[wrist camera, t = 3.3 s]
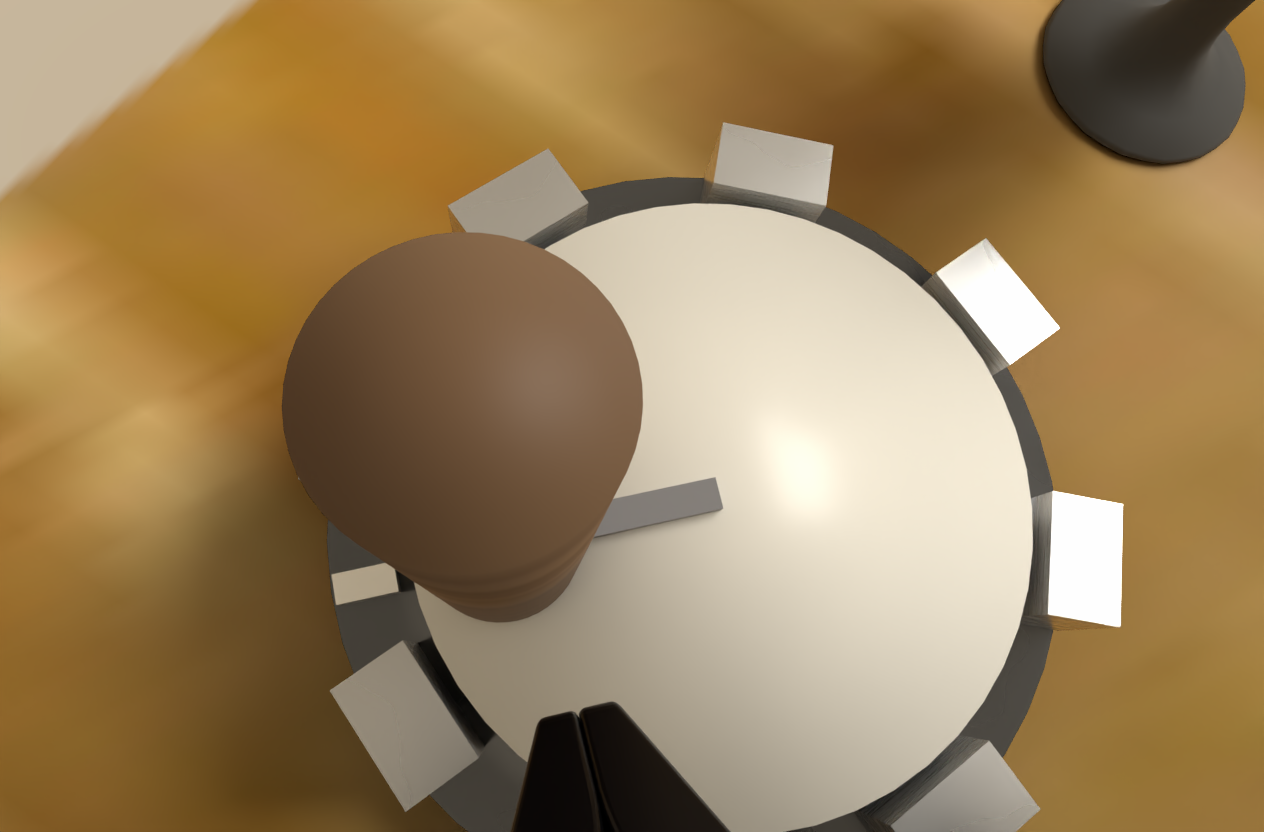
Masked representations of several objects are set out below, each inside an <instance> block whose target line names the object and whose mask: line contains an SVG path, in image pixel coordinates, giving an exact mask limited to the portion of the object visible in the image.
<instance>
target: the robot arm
mask: <svg viewBox="0 0 1264 832" xmlns="http://www.w3.org/2000/svg"><path fill="white" fill-rule="evenodd" d="M510 832H731V831H730V830H729V829H728V828H727V827H726V826H725V824H724V823H723V822H722V821H721V820H720V819H719V818H718V816H717V815H716V814H715V813H714V812H713V811H712V810H711V808H710V807H709V806H708V805H707V804H706V803H705V802H704V800H703V799H702V798H701V797H700V796H699V795H698V794H697V792H696V791H695V790H694V789H693V788H692V787H691V785H690V784H689V783H688V782H687V781H686V780H685V779H684V777H683V776H682V775H681V774H680V773H679V772H678V771H677V769H676V768H675V767H674V766H673V765H672V764H671V763H670V761H669V760H668V759H667V758H666V757H665V756H664V755H663V753H662V752H661V751H660V750H659V749H658V748H657V747H656V745H655V744H654V743H653V742H652V741H651V740H650V739H649V737H648V736H647V735H646V734H645V733H644V732H643V731H642V729H641V728H640V727H639V726H638V725H637V724H636V723H635V721H634V720H633V719H632V718H631V717H630V716H629V715H628V713H627V712H626V711H625V710H624V709H623V708H622V707H621V706H620V705H619V704H618V703H616V702H613V701H611V702H606V703H601V704H597V705H593V706H589V707H585V708H583V709H582V710H581V711H580V712H579V717H578V715H577V714H576V712H573V711H568V712H564V713H560V714H556V715H551V716H547V717H544V718H542V719H540V720H539V722H538V724H537V726H536V729H535V733H534V737H533V741H532V745H531V749H530V753H529V757H528V762H527V766H526V770H525V774H524V778H523V782H522V786H521V790H520V794H519V798H518V802H517V806H516V810H515V814H514V818H513V822H512V826H511V830H510Z"/></svg>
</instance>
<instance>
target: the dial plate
mask: <svg viewBox="0 0 1264 832" xmlns="http://www.w3.org/2000/svg"><path fill="white" fill-rule="evenodd" d="M832 153H833V145H829V144H824V143H820V142H815V141H810V140H805V139H801V138H796V137H791V136H786V135H781V134H777V133H772V132H767V131H762V130H757V129H753V128H748V127H743V126H738V125H733V124H729V123H724V122H723V124H722V127H721V130H720V133H719V135H718V138H717V141H716V144H715V147H714V149H713V152H712V155H711V158H710V161H709V163H708V166H707V169H706V172H705V175H704V178H676V177H667V178H656V179H646V180H635V181H625V182H621V183H616V184H612V185H607V186H602V187H598V188H593V189H589V190H584V191H581V192H580V191H579V189H578V188H577V187H576V185H575V184H574V183H573V181H572V180H571V179H570V177H569V176H568V175H567V173H566V172H565V171H564V169H563V168H562V166H561V165H560V164H559V162H558V161H557V160H556V158H555V157H554V156H553V154H552V153H551V152H550V150H549V149H546V150H545V151H543V152H541V153H539V154H538V155H536V156H534V157H532V158H531V159H529V160H527V161H525V162H524V163H522V164H520V165H518V166H517V167H515V168H513V169H511V170H510V171H508V172H506V173H504V174H503V175H501V176H499V177H497V178H496V179H494V180H492V181H490V182H489V183H487V184H485V185H483V186H482V187H480V188H478V189H476V190H475V191H473V192H471V193H469V194H468V195H466V196H464V197H462V198H461V199H459V200H457V201H455V202H454V203H452V204H450V205H448V210H449V216H450V221H451V227H452V232H453V233H455V232H474V233H487V234H494V235H501V236H505V237H509V238H513V239H517V240H521V241H524V242H527V243H529V244H532V245H534V246H537V247H540V248H542V249H546V248H547V247H549V246H550V245H552V244H554V243H556V242H558V241H560V240H562V239H564V238H566V237H568V236H570V235H572V234H573V233H575V232H577V231H579V230H581V229H583V228H586V227H589V226H591V225H594V224H597V223H600V222H602V221H605V220H608V219H611V218H613V217H616V216H619V215H623V214H628V213H632V212H637V211H641V210H645V209H650V208H654V207H663V206H673V205H682V204H692V203H696V204H732V205H739V206H746V207H753V208H761V209H768V210H772V211H775V212H779V213H783V214H787V215H790V216H794V217H798V218H802V219H805V220H808V221H810V222H813V223H815V224H818V225H820V226H823V227H825V228H828V229H830V230H833V231H836V232H838V233H840V234H842V235H844V236H846V237H848V238H850V239H852V240H853V241H855V242H857V243H859V244H861V245H863V246H865V247H867V248H868V249H870V250H872V251H874V252H875V253H877V254H878V255H880V256H881V257H882V258H884V259H885V260H887V261H888V262H890V263H891V264H893V265H894V266H895V267H897V268H898V269H900V270H901V271H903V272H904V273H905V274H907V275H908V276H909V277H910V278H911V279H912V280H913V281H914V282H916V283H917V284H918V285H919V286H920V287H921V288H922V289H924V290H925V291H926V292H927V293H928V294H929V295H930V296H932V297H933V298H934V299H935V300H936V301H937V303H938V304H939V305H940V306H941V307H942V308H943V309H944V310H945V311H946V313H947V314H948V315H949V316H950V317H951V318H952V319H953V320H954V321H955V323H956V324H957V325H958V326H959V327H960V328H961V330H962V331H963V333H964V334H965V335H966V337H967V338H968V340H969V341H970V342H971V344H972V345H973V347H974V348H975V349H976V351H977V352H978V354H979V355H980V356H981V358H982V359H983V361H984V363H985V365H986V367H987V368H988V370H989V372H990V374H991V376H992V377H993V379H994V381H995V383H996V385H997V387H998V388H999V390H1000V392H1001V394H1002V396H1003V399H1004V401H1005V404H1006V406H1007V409H1008V411H1009V414H1010V416H1011V419H1012V421H1013V424H1014V426H1015V429H1016V432H1017V435H1018V439H1019V443H1020V446H1021V450H1022V454H1023V458H1024V461H1025V465H1026V469H1027V476H1028V483H1029V490H1030V497H1031V504H1032V531H1033V551H1032V560H1031V569H1030V578H1029V587H1028V592H1027V596H1026V600H1025V604H1024V608H1023V612H1022V616H1021V621H1020V625H1019V628H1018V631H1017V634H1016V636H1015V639H1014V641H1013V644H1012V646H1011V649H1010V651H1009V654H1008V656H1007V659H1006V662H1005V664H1004V667H1003V668H1002V670H1001V672H1000V674H999V675H998V677H997V679H996V681H995V683H994V684H993V686H992V688H991V690H990V692H989V693H988V695H987V697H986V699H985V700H984V702H983V704H982V705H981V706H980V708H979V709H978V710H977V711H976V713H975V714H974V715H973V717H972V718H971V719H970V721H969V722H968V723H967V725H966V726H965V727H964V729H963V730H962V731H961V733H960V734H959V735H958V736H957V737H956V738H955V739H954V740H953V741H952V742H951V743H950V744H949V745H948V746H947V747H946V748H945V749H944V750H943V751H942V752H941V753H940V754H939V755H938V756H937V757H936V758H935V759H934V760H933V761H932V762H931V763H930V764H929V765H928V766H926V767H925V768H924V769H922V770H921V771H920V772H918V773H917V774H916V775H914V776H913V777H912V778H910V779H909V780H907V781H906V782H905V783H903V784H902V785H901V786H899V787H898V788H897V789H895V790H894V791H892V792H890V793H888V794H886V795H885V796H883V797H881V798H879V799H877V800H875V801H873V802H871V803H870V804H868V805H866V806H864V807H862V808H860V809H858V810H857V811H854V812H851V813H848V814H846V815H843V816H840V817H837V818H835V819H832V820H829V821H826V822H824V823H821V824H818V825H815V826H810V827H806V828H801V829H796V830H791V831H786V832H1016V831H1017V830H1018V829H1019V828H1020V827H1021V826H1023V825H1024V824H1025V823H1026V822H1027V821H1028V820H1029V819H1030V818H1031V817H1032V816H1034V815H1035V814H1036V813H1037V812H1038V811H1039V810H1040V808H1039V807H1038V805H1037V804H1036V803H1035V801H1034V800H1033V799H1032V797H1031V796H1030V795H1029V793H1028V792H1027V791H1026V789H1025V788H1024V787H1023V785H1022V784H1021V783H1020V781H1019V780H1018V778H1017V777H1016V776H1015V774H1014V773H1013V772H1012V770H1011V769H1010V768H1009V766H1008V765H1007V764H1006V762H1005V761H1004V760H1003V756H1004V755H1005V753H1006V751H1007V749H1008V747H1009V746H1010V744H1011V742H1012V740H1013V738H1014V736H1015V735H1016V733H1017V731H1018V729H1019V727H1020V725H1021V724H1022V722H1023V720H1024V718H1025V716H1026V714H1027V712H1028V710H1029V707H1030V704H1031V702H1032V699H1033V696H1034V694H1035V691H1036V689H1037V686H1038V683H1039V681H1040V678H1041V675H1042V673H1043V670H1044V667H1045V663H1046V659H1047V654H1048V650H1049V646H1050V641H1051V637H1052V633H1053V630H1057V631H1061V630H1080V629H1098V628H1116V627H1120V621H1121V570H1122V519H1123V504H1119V503H1114V502H1108V501H1103V500H1098V499H1092V498H1087V497H1082V496H1076V495H1071V494H1066V493H1061V492H1055V491H1053V486H1052V480H1051V477H1050V473H1049V469H1048V466H1047V462H1046V459H1045V455H1044V451H1043V448H1042V444H1041V440H1040V437H1039V435H1038V432H1037V430H1036V427H1035V425H1034V422H1033V420H1032V418H1031V415H1030V413H1029V410H1028V408H1027V405H1026V403H1025V400H1024V398H1023V395H1022V394H1021V392H1020V390H1019V388H1018V386H1017V385H1016V383H1015V381H1014V379H1013V377H1012V376H1011V374H1010V372H1009V370H1008V368H1007V366H1009V365H1011V364H1012V363H1013V362H1015V361H1016V360H1017V359H1019V358H1020V357H1021V356H1023V355H1024V354H1025V353H1027V352H1028V351H1029V350H1031V349H1032V348H1034V347H1035V346H1036V345H1038V344H1039V343H1040V342H1042V341H1043V340H1044V339H1046V338H1047V337H1048V336H1050V335H1051V334H1052V333H1054V332H1055V331H1056V330H1058V329H1059V328H1060V327H1059V326H1058V325H1057V324H1056V323H1055V321H1054V320H1053V319H1052V318H1051V317H1050V315H1049V314H1048V313H1047V312H1046V310H1045V309H1044V308H1043V307H1042V306H1041V304H1040V303H1039V302H1038V301H1037V300H1036V298H1035V297H1034V296H1033V295H1032V293H1031V292H1030V291H1029V290H1028V289H1027V287H1026V286H1025V285H1024V284H1023V283H1022V281H1021V280H1020V279H1019V278H1018V276H1017V275H1016V274H1015V273H1014V272H1013V270H1012V269H1011V268H1010V267H1009V265H1008V264H1007V263H1006V262H1005V261H1004V259H1003V258H1002V257H1001V256H1000V255H999V253H998V252H997V251H996V250H995V248H994V247H993V246H992V245H991V244H990V242H989V241H988V240H987V239H986V238H985V239H984V240H982V241H981V242H980V243H978V244H977V245H975V246H974V247H972V248H971V249H969V250H968V251H966V252H965V253H964V254H962V255H961V256H959V257H958V258H956V259H955V260H953V261H952V262H951V263H949V264H948V265H946V266H945V267H943V268H942V269H940V270H939V271H937V272H936V273H935V274H934V275H933V276H932V275H931V274H930V273H929V272H928V271H926V270H925V269H924V268H923V267H922V266H921V265H920V264H919V263H917V262H916V261H915V260H914V259H913V258H912V257H910V256H909V255H907V254H906V253H905V252H903V251H902V250H900V249H899V248H897V247H896V246H894V245H893V244H892V243H890V242H889V241H887V240H886V239H884V238H883V237H881V236H880V235H879V234H877V233H876V232H874V231H872V230H870V229H868V228H866V227H865V226H863V225H861V224H859V223H857V222H855V221H853V220H851V219H850V218H848V217H846V216H844V215H842V214H840V213H838V212H836V211H834V210H831V209H829V208H826V204H827V195H828V187H829V178H830V170H831V162H832ZM298 479H299V478H298ZM299 480H300V479H299ZM327 547H328V559H329V571H330V583H331V593H332V598H333V602H334V607H335V611H336V616H337V620H338V625H339V629H340V634H341V638H342V643H343V646H344V648H345V651H346V654H347V656H348V659H349V662H350V664H351V667H352V670H353V672H354V674H353V675H351V676H350V677H349V678H347V679H346V680H344V681H343V682H341V683H340V684H338V685H337V686H335V687H334V688H333V689H331V690H330V692H331V694H332V695H333V697H334V698H335V700H336V702H337V703H338V705H339V706H340V708H341V710H342V711H343V713H344V714H345V716H346V718H347V719H348V721H349V722H350V724H351V726H352V727H353V729H354V730H355V732H356V734H357V735H358V737H359V738H360V740H361V742H362V743H363V745H364V746H365V748H366V750H367V751H368V753H369V754H370V756H371V758H372V759H373V761H374V762H375V764H376V766H377V767H378V769H379V770H380V772H381V774H382V775H383V777H384V778H385V780H386V781H387V783H388V785H389V786H390V788H391V789H392V791H393V793H394V794H395V796H396V797H397V799H398V801H399V802H400V804H401V805H402V807H403V809H404V810H405V812H406V811H408V810H409V809H411V808H412V807H413V806H415V805H416V804H417V803H419V802H420V801H421V800H423V799H424V798H425V797H427V796H428V795H430V796H431V797H432V798H433V799H434V800H435V801H436V802H437V803H438V804H439V805H440V806H441V807H442V808H443V809H444V810H445V811H446V812H447V813H448V814H449V815H450V816H451V817H452V818H453V819H454V820H455V822H457V823H458V824H459V825H460V826H462V827H463V828H464V829H466V830H467V831H468V832H510V830H511V826H512V822H513V818H514V814H515V810H516V806H517V802H518V798H519V794H520V790H521V786H522V782H523V778H524V774H525V770H526V766H527V762H526V761H525V760H524V759H522V758H521V757H520V756H519V755H517V754H516V753H515V752H514V751H513V750H512V749H511V748H510V747H509V746H508V745H507V744H506V743H505V742H504V741H503V740H502V738H501V737H500V736H499V735H498V734H497V733H496V732H495V731H494V730H493V729H492V728H491V727H490V726H489V725H488V724H487V723H486V722H485V721H484V720H483V718H482V717H481V716H480V714H479V713H478V712H477V710H476V709H475V708H474V706H473V705H472V704H471V702H470V701H469V700H468V698H467V697H466V696H465V694H464V693H463V692H462V691H461V689H460V688H459V687H458V685H457V683H456V681H455V680H454V678H453V676H452V674H451V672H450V671H449V669H448V667H447V665H446V664H445V662H444V660H443V658H442V656H441V655H440V653H439V651H438V649H437V647H436V645H435V643H434V640H433V638H432V635H431V633H430V630H429V628H428V625H427V622H426V620H425V617H424V615H423V612H422V610H421V607H420V605H419V601H418V597H417V593H416V588H415V584H414V581H412V580H410V579H409V578H407V577H406V576H404V575H403V574H401V573H400V572H398V571H397V570H395V569H394V568H392V567H391V566H389V565H388V564H386V563H385V562H383V561H382V560H380V559H379V558H377V557H376V556H374V555H373V554H371V553H370V552H368V551H367V550H365V549H364V548H362V547H361V546H359V545H358V544H356V543H355V542H354V541H352V540H351V539H350V538H349V537H347V536H346V535H345V534H343V533H342V532H341V531H339V530H338V529H337V528H336V527H335V526H334V525H333V524H332V523H331V522H330V521H329V520H328V532H327Z"/></svg>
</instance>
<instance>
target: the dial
mask: <svg viewBox="0 0 1264 832" xmlns="http://www.w3.org/2000/svg"><path fill="white" fill-rule="evenodd" d="M282 414H283V427H284V433H285V438H286V442H287V447H288V451H289V454H290V457H291V460H292V462H293V465H294V468H295V470H296V473H297V475H298V477H299V479H300V481H301V482H302V484H303V486H304V488H305V490H306V492H307V493H308V495H309V496H310V498H311V499H312V500H313V502H314V503H315V504H316V506H317V507H318V508H319V510H320V511H321V512H322V514H323V515H324V516H325V517H326V518H327V519H328V520H329V521H330V522H331V523H332V524H333V525H334V526H335V527H336V528H337V529H338V530H339V531H341V532H342V533H343V534H345V535H346V536H347V537H349V538H350V539H351V540H352V541H354V542H355V543H356V544H358V545H359V546H361V547H362V548H364V549H365V550H367V551H368V552H370V553H371V554H373V555H374V556H376V557H377V558H379V559H380V560H382V561H383V562H385V563H386V564H388V565H389V566H391V567H392V568H394V569H395V570H397V571H398V572H400V573H401V574H403V575H404V576H406V577H407V578H409V579H410V580H412V581H414V584H415V588H416V593H417V597H418V601H419V605H420V607H421V610H422V612H423V615H424V617H425V620H426V622H427V625H428V628H429V630H430V633H431V635H432V638H433V640H434V643H435V645H436V647H437V649H438V651H439V653H440V655H441V656H442V658H443V660H444V662H445V664H446V665H447V667H448V669H449V671H450V672H451V674H452V676H453V678H454V680H455V681H456V683H457V685H458V687H459V688H460V689H461V691H462V692H463V693H464V694H465V696H466V697H467V698H468V700H469V701H470V702H471V704H472V705H473V706H474V708H475V709H476V710H477V712H478V713H479V714H480V716H481V717H482V718H483V720H484V721H485V722H486V723H487V724H488V725H489V726H490V727H491V728H492V729H493V730H494V731H495V732H496V733H497V734H498V735H499V736H500V737H501V738H502V740H503V741H504V742H505V743H506V744H507V745H508V746H509V747H510V748H511V749H512V750H513V751H514V752H515V753H516V754H517V755H519V756H520V757H521V758H522V759H524V760H525V761H526V762H528V757H529V753H530V749H531V745H532V741H533V737H534V733H535V729H536V726H537V724H538V722H539V720H540V719H542V718H544V717H547V716H551V715H556V714H560V713H564V712H568V711H573V712H576V714H577V715H578V717H579V712H580V711H581V710H582V709H583V708H585V707H589V706H593V705H597V704H601V703H606V702H611V701H613V702H616V703H618V704H619V705H620V706H621V707H622V708H623V709H624V710H625V711H626V712H627V713H628V715H629V716H630V717H631V718H632V719H633V720H634V721H635V723H636V724H637V725H638V726H639V727H640V728H641V729H642V731H643V732H644V733H645V734H646V735H647V736H648V737H649V739H650V740H651V741H652V742H653V743H654V744H655V745H656V747H657V748H658V749H659V750H660V751H661V752H662V753H663V755H664V756H665V757H666V758H667V759H668V760H669V761H670V763H671V764H672V765H673V766H674V767H675V768H676V769H677V771H678V772H679V773H680V774H681V775H682V776H683V777H684V779H685V780H686V781H687V782H688V783H689V784H690V785H691V787H692V788H693V789H694V790H695V791H696V792H697V794H698V795H699V796H700V797H701V798H702V799H703V800H704V802H705V803H706V804H707V805H708V806H709V807H710V808H711V810H712V811H713V812H714V813H715V814H716V815H717V816H718V818H719V819H720V820H721V821H722V822H723V823H724V824H725V826H726V827H727V828H728V829H729V830H730V831H731V832H786V831H791V830H796V829H801V828H806V827H810V826H815V825H818V824H821V823H824V822H826V821H829V820H832V819H835V818H837V817H840V816H843V815H846V814H848V813H851V812H854V811H857V810H858V809H860V808H862V807H864V806H866V805H868V804H870V803H871V802H873V801H875V800H877V799H879V798H881V797H883V796H885V795H886V794H888V793H890V792H892V791H894V790H895V789H897V788H898V787H899V786H901V785H902V784H903V783H905V782H906V781H907V780H909V779H910V778H912V777H913V776H914V775H916V774H917V773H918V772H920V771H921V770H922V769H924V768H925V767H926V766H928V765H929V764H930V763H931V762H932V761H933V760H934V759H935V758H936V757H937V756H938V755H939V754H940V753H941V752H942V751H943V750H944V749H945V748H946V747H947V746H948V745H949V744H950V743H951V742H952V741H953V740H954V739H955V738H956V737H957V736H958V735H959V734H960V733H961V731H962V730H963V729H964V727H965V726H966V725H967V723H968V722H969V721H970V719H971V718H972V717H973V715H974V714H975V713H976V711H977V710H978V709H979V708H980V706H981V705H982V704H983V702H984V700H985V699H986V697H987V695H988V693H989V692H990V690H991V688H992V686H993V684H994V683H995V681H996V679H997V677H998V675H999V674H1000V672H1001V670H1002V668H1003V667H1004V664H1005V662H1006V659H1007V656H1008V654H1009V651H1010V649H1011V646H1012V644H1013V641H1014V639H1015V636H1016V634H1017V631H1018V628H1019V625H1020V621H1021V616H1022V612H1023V608H1024V604H1025V600H1026V596H1027V592H1028V587H1029V578H1030V569H1031V560H1032V551H1033V531H1032V504H1031V497H1030V490H1029V483H1028V476H1027V469H1026V465H1025V461H1024V458H1023V454H1022V450H1021V446H1020V443H1019V439H1018V435H1017V432H1016V429H1015V426H1014V424H1013V421H1012V419H1011V416H1010V414H1009V411H1008V409H1007V406H1006V404H1005V401H1004V399H1003V396H1002V394H1001V392H1000V390H999V388H998V387H997V385H996V383H995V381H994V379H993V377H992V376H991V374H990V372H989V370H988V368H987V367H986V365H985V363H984V361H983V359H982V358H981V356H980V355H979V354H978V352H977V351H976V349H975V348H974V347H973V345H972V344H971V342H970V341H969V340H968V338H967V337H966V335H965V334H964V333H963V331H962V330H961V328H960V327H959V326H958V325H957V324H956V323H955V321H954V320H953V319H952V318H951V317H950V316H949V315H948V314H947V313H946V311H945V310H944V309H943V308H942V307H941V306H940V305H939V304H938V303H937V301H936V300H935V299H934V298H933V297H932V296H930V295H929V294H928V293H927V292H926V291H925V290H924V289H922V288H921V287H920V286H919V285H918V284H917V283H916V282H914V281H913V280H912V279H911V278H910V277H909V276H908V275H907V274H905V273H904V272H903V271H901V270H900V269H898V268H897V267H895V266H894V265H893V264H891V263H890V262H888V261H887V260H885V259H884V258H882V257H881V256H880V255H878V254H877V253H875V252H874V251H872V250H870V249H868V248H867V247H865V246H863V245H861V244H859V243H857V242H855V241H853V240H852V239H850V238H848V237H846V236H844V235H842V234H840V233H838V232H836V231H833V230H830V229H828V228H825V227H823V226H820V225H818V224H815V223H813V222H810V221H808V220H805V219H802V218H798V217H794V216H790V215H787V214H783V213H779V212H775V211H772V210H768V209H761V208H753V207H746V206H739V205H732V204H696V203H692V204H682V205H673V206H663V207H654V208H650V209H645V210H641V211H637V212H632V213H628V214H623V215H619V216H616V217H613V218H611V219H608V220H605V221H602V222H600V223H597V224H594V225H591V226H589V227H586V228H583V229H581V230H579V231H577V232H575V233H573V234H572V235H570V236H568V237H566V238H564V239H562V240H560V241H558V242H556V243H554V244H552V245H550V246H549V247H547V248H546V249H542V248H540V247H537V246H534V245H532V244H529V243H527V242H524V241H521V240H517V239H513V238H509V237H505V236H501V235H494V234H487V233H474V232H455V233H445V234H435V235H430V236H426V237H422V238H417V239H413V240H410V241H407V242H404V243H401V244H399V245H396V246H393V247H390V248H388V249H386V250H384V251H382V252H380V253H378V254H376V255H374V256H372V257H370V258H369V259H367V260H366V261H364V262H363V263H361V264H360V265H358V266H357V267H355V268H354V269H352V270H351V271H350V272H349V273H347V274H346V275H345V276H344V277H343V278H342V279H340V280H339V281H338V282H337V283H336V284H335V285H334V286H333V287H332V288H331V289H330V290H329V291H328V292H327V293H326V294H325V296H324V297H323V298H322V299H321V300H320V301H319V302H318V304H317V305H316V307H315V308H314V310H313V311H312V312H311V314H310V315H309V317H308V318H307V320H306V321H305V323H304V325H303V327H302V329H301V331H300V333H299V335H298V337H297V339H296V341H295V344H294V347H293V350H292V352H291V355H290V358H289V361H288V365H287V370H286V374H285V379H284V384H283V399H282Z"/></svg>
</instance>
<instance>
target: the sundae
mask: <svg viewBox="0 0 1264 832" xmlns="http://www.w3.org/2000/svg"><path fill="white" fill-rule="evenodd" d="M1254 1H1255V0H1062V1H1061V2H1060V4H1059V5H1058V7H1057V8H1056V10H1055V11H1054V12H1053V14H1052V16H1051V18H1050V20H1049V22H1048V24H1047V26H1046V29H1045V36H1044V44H1043V57H1044V67H1045V70H1046V73H1047V76H1048V80H1049V83H1050V85H1051V87H1052V90H1053V92H1054V94H1055V96H1056V99H1057V101H1058V103H1059V104H1060V105H1061V106H1062V108H1063V109H1064V110H1065V112H1066V113H1067V114H1068V115H1069V117H1070V118H1071V119H1072V120H1073V121H1074V122H1075V123H1076V124H1077V125H1078V126H1079V127H1080V128H1081V130H1082V131H1083V132H1084V133H1086V134H1087V135H1089V136H1090V137H1092V138H1093V139H1095V140H1096V141H1098V142H1099V143H1101V144H1102V145H1104V146H1106V147H1108V148H1110V149H1111V150H1113V151H1115V152H1117V153H1119V154H1121V155H1124V156H1128V157H1132V158H1135V159H1139V160H1143V161H1149V162H1155V163H1162V164H1165V163H1175V162H1184V161H1188V160H1192V159H1196V158H1200V157H1202V156H1204V155H1205V154H1207V153H1209V152H1210V151H1212V150H1214V149H1215V148H1217V147H1218V146H1219V145H1220V144H1221V143H1223V142H1224V141H1225V140H1226V139H1227V138H1229V136H1230V134H1231V133H1232V131H1233V129H1234V128H1235V126H1236V124H1237V122H1238V120H1239V117H1240V115H1241V112H1242V109H1243V105H1244V95H1245V75H1244V67H1243V65H1242V62H1241V59H1240V57H1239V54H1238V51H1237V49H1236V47H1235V45H1234V43H1233V41H1232V39H1231V37H1230V35H1229V34H1228V33H1227V32H1226V30H1225V28H1226V27H1227V26H1228V25H1229V23H1230V22H1231V21H1232V20H1233V19H1234V18H1236V17H1237V16H1238V15H1239V14H1240V13H1241V12H1242V11H1243V10H1245V9H1246V8H1247V7H1248V6H1249V5H1250V4H1251V3H1252V2H1254Z"/></svg>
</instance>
